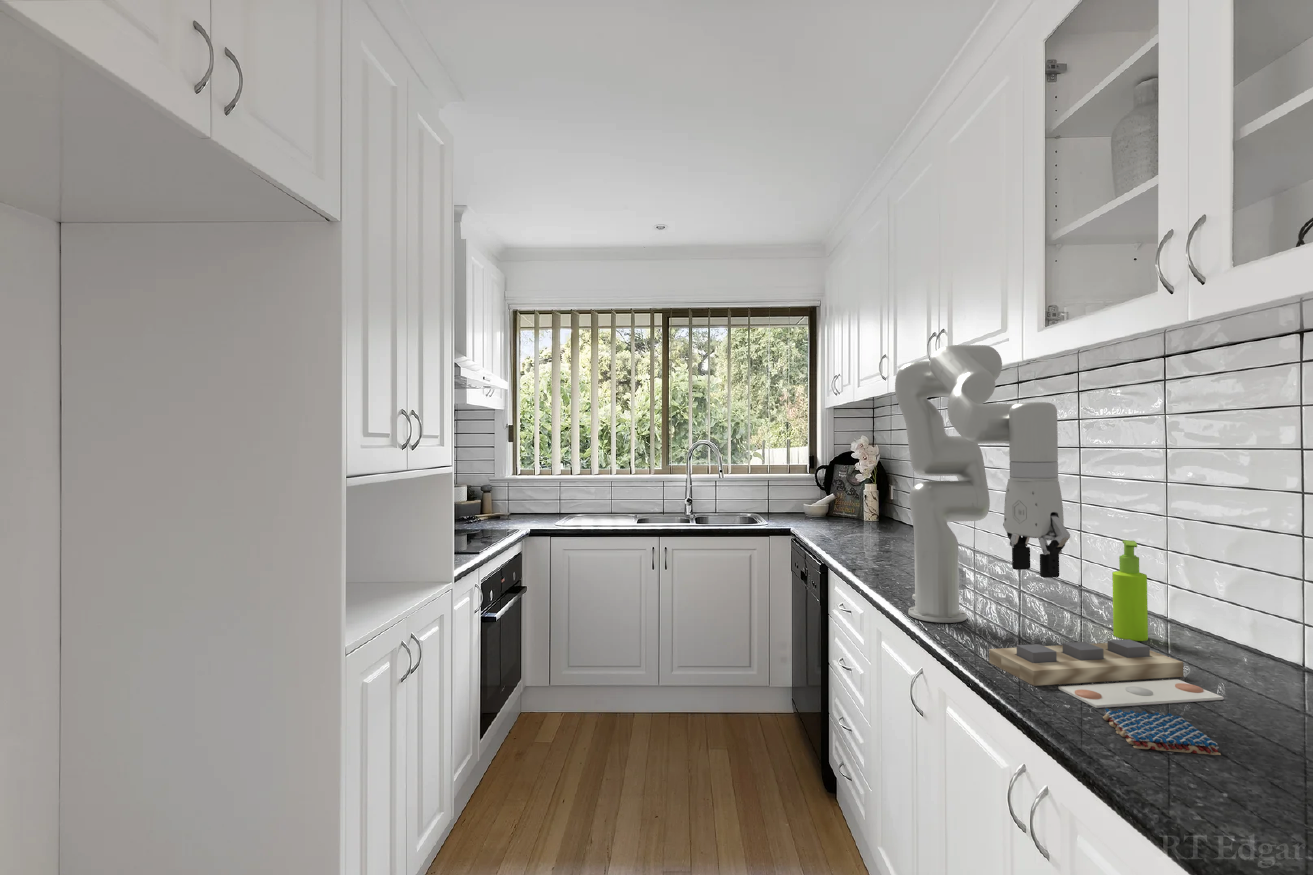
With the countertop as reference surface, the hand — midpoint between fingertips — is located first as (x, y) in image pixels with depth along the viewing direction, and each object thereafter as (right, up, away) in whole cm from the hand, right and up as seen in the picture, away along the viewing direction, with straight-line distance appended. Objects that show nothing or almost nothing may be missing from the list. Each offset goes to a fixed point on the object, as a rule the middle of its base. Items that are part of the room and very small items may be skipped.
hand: (1035, 572), depth 119 cm
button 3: (+18, -16, +2) cm, 24 cm away
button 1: (0, -16, 0) cm, 16 cm away
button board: (+9, -18, +1) cm, 20 cm away
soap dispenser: (+31, -18, +20) cm, 41 cm away
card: (+11, -17, -11) cm, 23 cm away
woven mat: (+2, -18, -26) cm, 32 cm away
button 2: (+9, -16, +1) cm, 18 cm away
